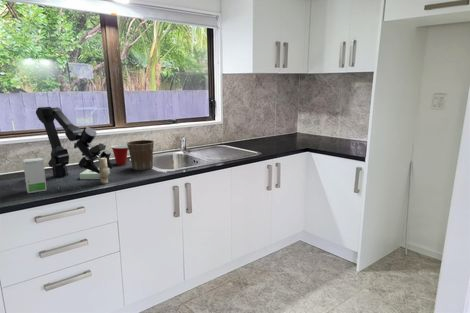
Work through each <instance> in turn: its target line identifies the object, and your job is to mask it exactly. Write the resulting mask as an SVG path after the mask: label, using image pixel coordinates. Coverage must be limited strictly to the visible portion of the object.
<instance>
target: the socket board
mask: <svg viewBox="0 0 470 313" xmlns="http://www.w3.org/2000/svg"><path fill="white" fill-rule="evenodd" d="M97 168H98V169H99V167H97ZM110 170H111V169H110V168H108V175H110V174H111V171H110ZM99 171H100V170H99ZM79 180H101V178H100V173H99V174H98V173H96V172H94V171H91V170H88V169H85V170H84V171H82V172H80V173H79Z"/></svg>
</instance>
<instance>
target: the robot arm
mask: <svg viewBox="0 0 470 313" xmlns="http://www.w3.org/2000/svg"><path fill="white" fill-rule="evenodd" d="M35 115H36V116H37V119H38V120H39V121H40V122H41V123H42V124H43V126H44V129H45V132H46V135H47V138H48V140H49V144H50V147H51V152H50V160H49V161H48V162H47V163H48V166H49V168H51V169H52V176H51V178H65V177H66V176H69V172H68V167H67V165H69V163H70V161H69V160H70V153H69V152H68V151H69V150H68V149H67V148H64V147H63V146H62V143H61V140H60V138H59V134H58V131H57V127H56V126H55V120H56V122H57V123H58V124H59V125H60V126H61V128H62V129H63V130H64V131H65V132H64V133H65V136H66V138H67V139H68V141H69V142H73V149H77V148H78V150H79V151H80V152H81V155H82V158H81V159H80V160H79V162H78V167H80V168H81V169H85V170H87V169H88V170H91V171H94V172H96V173H98V174H99V173H100V171H99V169H98V168H99V167H97V166H96V164H95V163H94V162H95V161H98V159H99V158H107V167H108V168H109V169H110V170H112V169H113V165H112V163H111V161H110V157H111V155H112V153H111V151H110V150H106V147H107V145H106V143H104V142H103V141H102V142H100V143H98V144H96V145H92V142H93V141H94V139H95V138H96V136H97V133H98V132H97V131H96V130H94V129H93V128H91V127H89V126H85V127H84V128H83V129H81V128H80V127H79V126H77V125H74V124H73V123H72V122H71V120H70V119H68V117H67V116H66V115H65V114H64V112H63V111H62V109H61V108H60V107H51V106H41V107H37V108H36V111H35ZM104 150H105V151H104Z"/></svg>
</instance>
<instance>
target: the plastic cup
mask: <svg viewBox="0 0 470 313" xmlns="http://www.w3.org/2000/svg"><path fill="white" fill-rule="evenodd" d="M111 149H112V153H113V157H114V160H115V162H116V166H122V165H124V166H125V165H126V164H127V158H128V152H129V150H128V146H127V144H126V145H123V144H118V145H116V144H114V145H111Z"/></svg>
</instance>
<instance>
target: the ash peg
mask: <svg viewBox="0 0 470 313" xmlns="http://www.w3.org/2000/svg"><path fill="white" fill-rule="evenodd" d="M97 161H98V168H99V170H100V178H101V179H100V184H104V185H105V184H108V183H109V174H108V167H107V158H99V159H98V160H97Z"/></svg>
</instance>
